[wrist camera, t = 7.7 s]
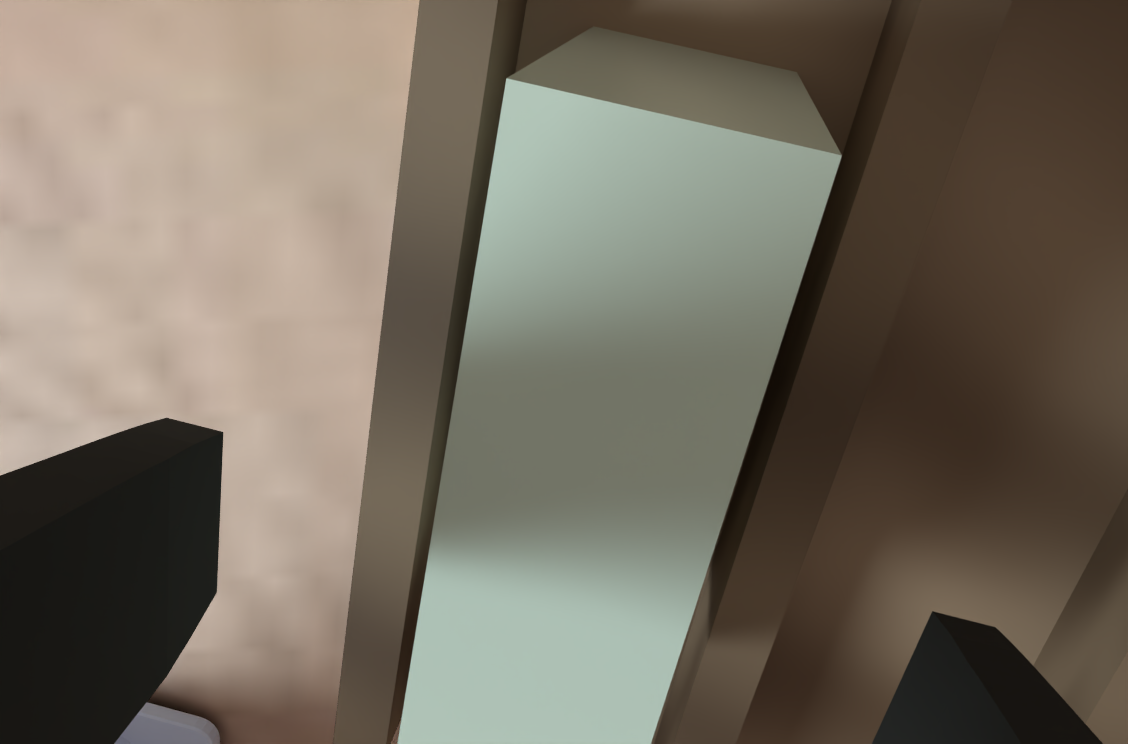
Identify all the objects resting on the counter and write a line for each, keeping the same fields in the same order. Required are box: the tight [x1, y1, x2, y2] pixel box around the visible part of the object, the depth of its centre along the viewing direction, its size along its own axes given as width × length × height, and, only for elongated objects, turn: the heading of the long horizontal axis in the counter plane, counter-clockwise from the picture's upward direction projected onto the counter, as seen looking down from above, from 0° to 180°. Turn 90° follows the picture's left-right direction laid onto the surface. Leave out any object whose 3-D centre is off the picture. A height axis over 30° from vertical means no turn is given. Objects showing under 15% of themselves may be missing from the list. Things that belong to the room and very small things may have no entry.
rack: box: [333, 0, 1128, 744], centre depth 15 cm, size 18×14×3 cm
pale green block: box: [397, 26, 842, 744], centre depth 13 cm, size 9×3×6 cm, turn 169°
